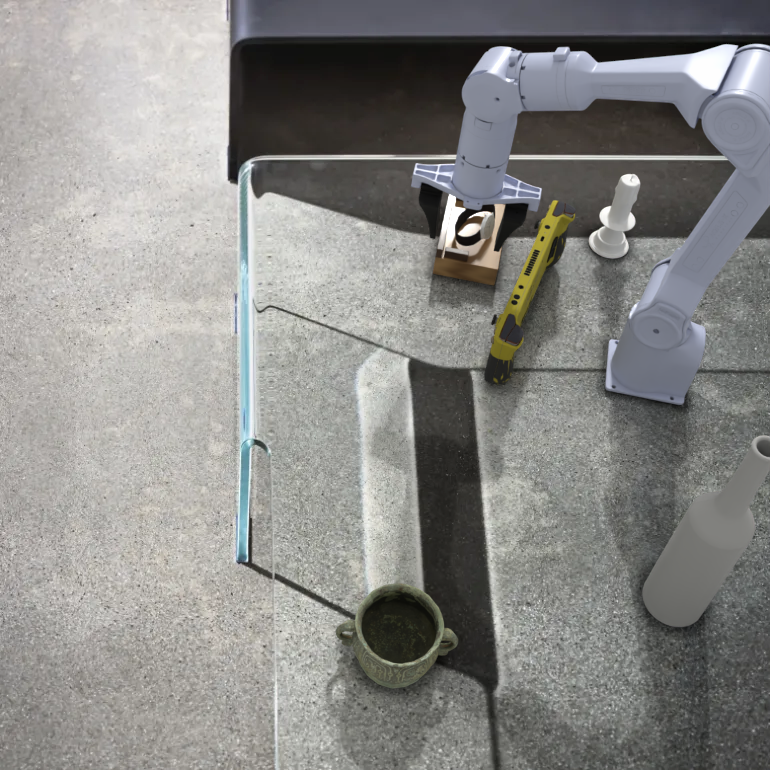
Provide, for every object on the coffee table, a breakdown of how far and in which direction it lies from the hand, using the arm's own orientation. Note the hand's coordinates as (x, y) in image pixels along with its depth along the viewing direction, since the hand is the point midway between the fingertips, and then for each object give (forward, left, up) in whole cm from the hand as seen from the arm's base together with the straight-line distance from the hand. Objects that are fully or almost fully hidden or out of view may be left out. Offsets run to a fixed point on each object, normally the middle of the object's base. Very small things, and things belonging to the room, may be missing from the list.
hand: (465, 239), depth 137 cm
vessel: (-1, +49, -10) cm, 50 cm away
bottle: (-29, +36, -10) cm, 47 cm away
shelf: (-1, -9, -10) cm, 14 cm away
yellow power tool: (-9, +1, -10) cm, 14 cm away
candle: (-19, -15, -10) cm, 26 cm away
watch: (-1, -9, -8) cm, 12 cm away
